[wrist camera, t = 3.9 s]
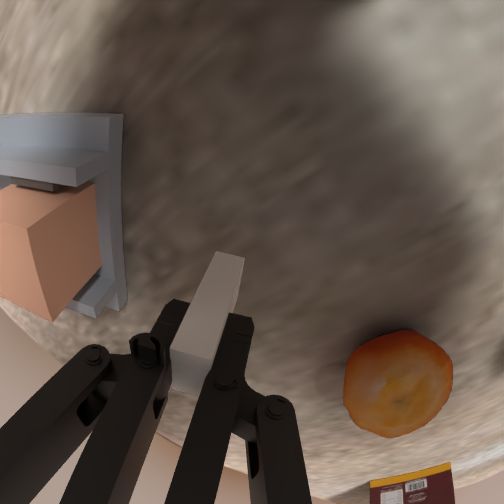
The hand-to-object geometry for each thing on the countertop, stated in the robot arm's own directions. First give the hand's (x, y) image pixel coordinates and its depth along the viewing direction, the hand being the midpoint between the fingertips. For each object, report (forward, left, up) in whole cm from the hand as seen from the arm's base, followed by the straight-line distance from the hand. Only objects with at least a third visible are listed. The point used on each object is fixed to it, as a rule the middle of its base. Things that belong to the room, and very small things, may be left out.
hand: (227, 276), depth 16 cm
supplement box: (+41, +38, -3) cm, 56 cm away
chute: (0, -23, -3) cm, 23 cm away
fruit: (+6, +13, -3) cm, 15 cm away
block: (0, -12, -2) cm, 12 cm away
